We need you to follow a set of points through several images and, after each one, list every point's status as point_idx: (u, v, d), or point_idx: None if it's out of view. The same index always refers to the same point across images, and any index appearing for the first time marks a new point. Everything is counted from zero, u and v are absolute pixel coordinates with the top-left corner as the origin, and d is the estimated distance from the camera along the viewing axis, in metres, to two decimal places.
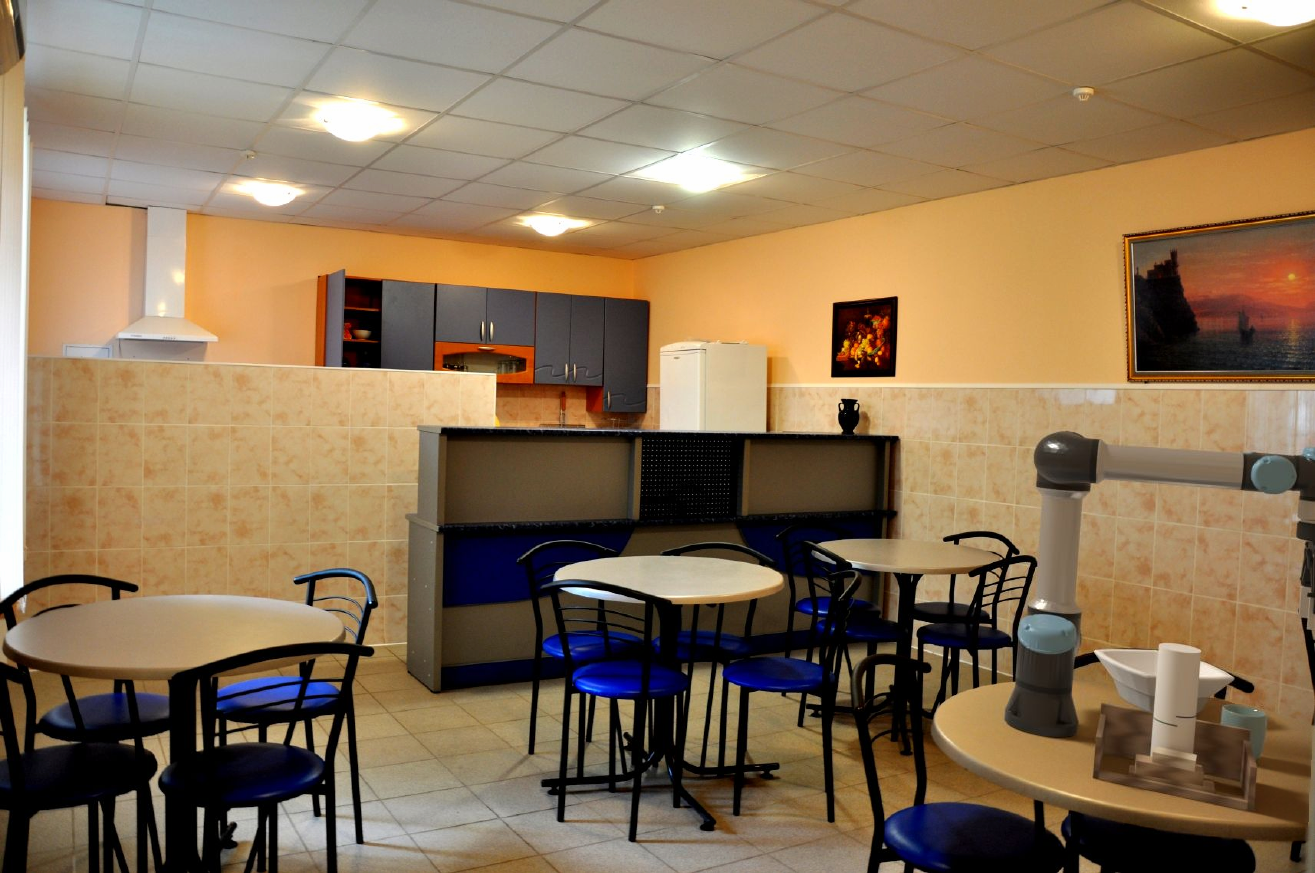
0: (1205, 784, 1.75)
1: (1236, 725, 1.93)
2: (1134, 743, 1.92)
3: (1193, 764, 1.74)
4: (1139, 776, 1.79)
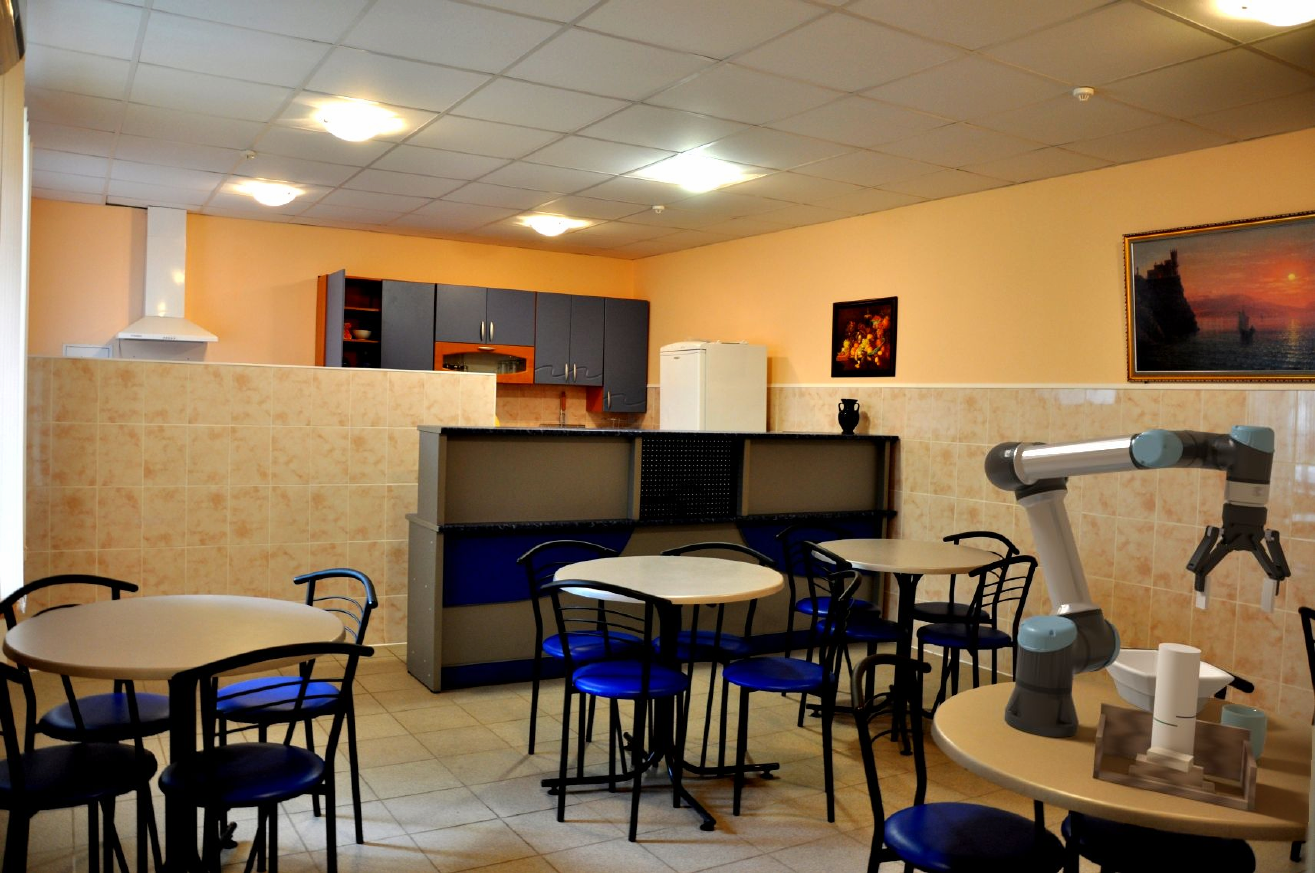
0: (1205, 785, 1.75)
1: (1236, 725, 1.93)
2: (1134, 743, 1.92)
3: (1186, 765, 1.74)
4: (1139, 776, 1.79)
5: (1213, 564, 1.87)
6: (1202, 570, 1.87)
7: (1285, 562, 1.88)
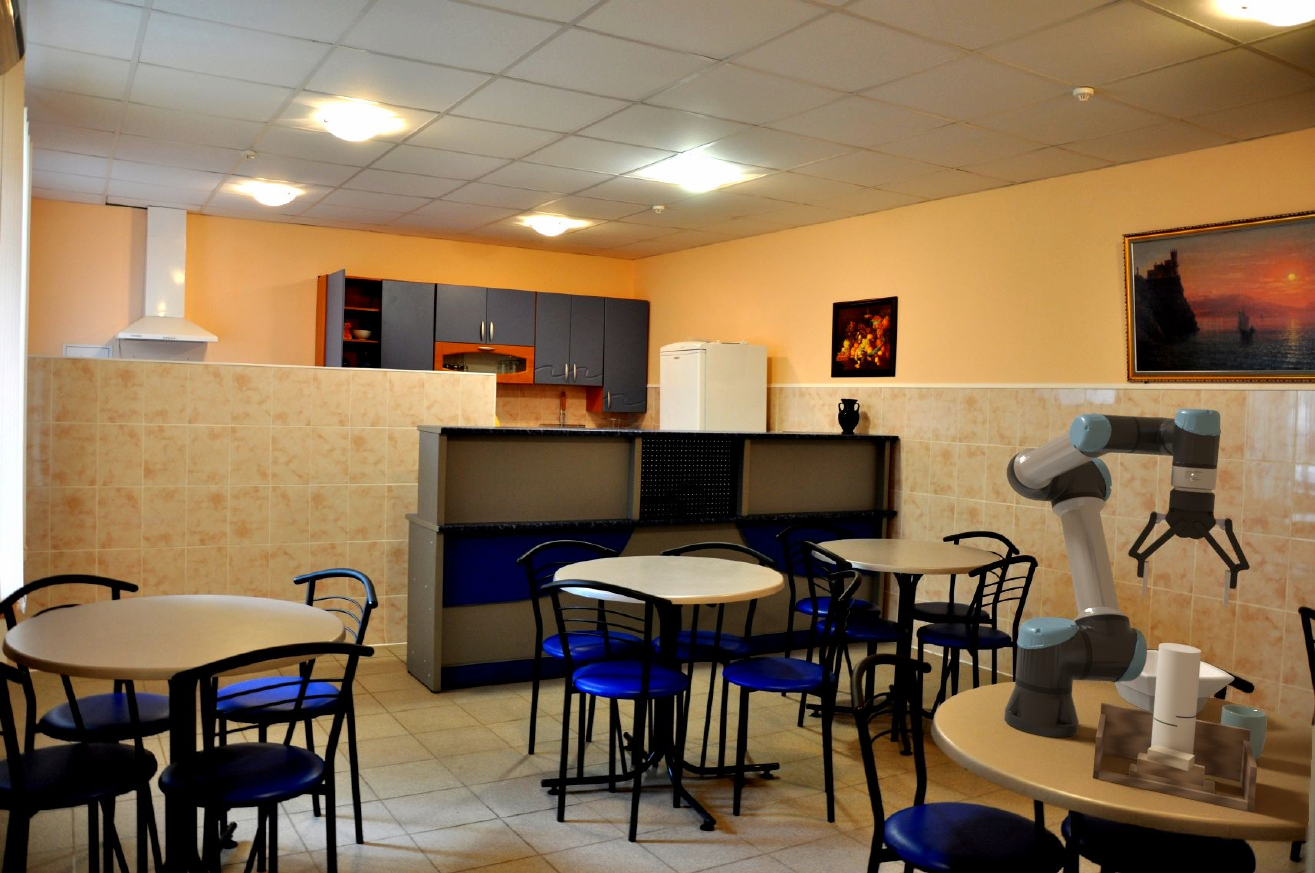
0: (1205, 783, 1.75)
1: (1236, 725, 1.93)
2: (1134, 743, 1.92)
3: (1186, 763, 1.74)
4: (1139, 774, 1.79)
5: (1151, 550, 1.84)
6: (1139, 555, 1.85)
7: (1241, 553, 1.77)
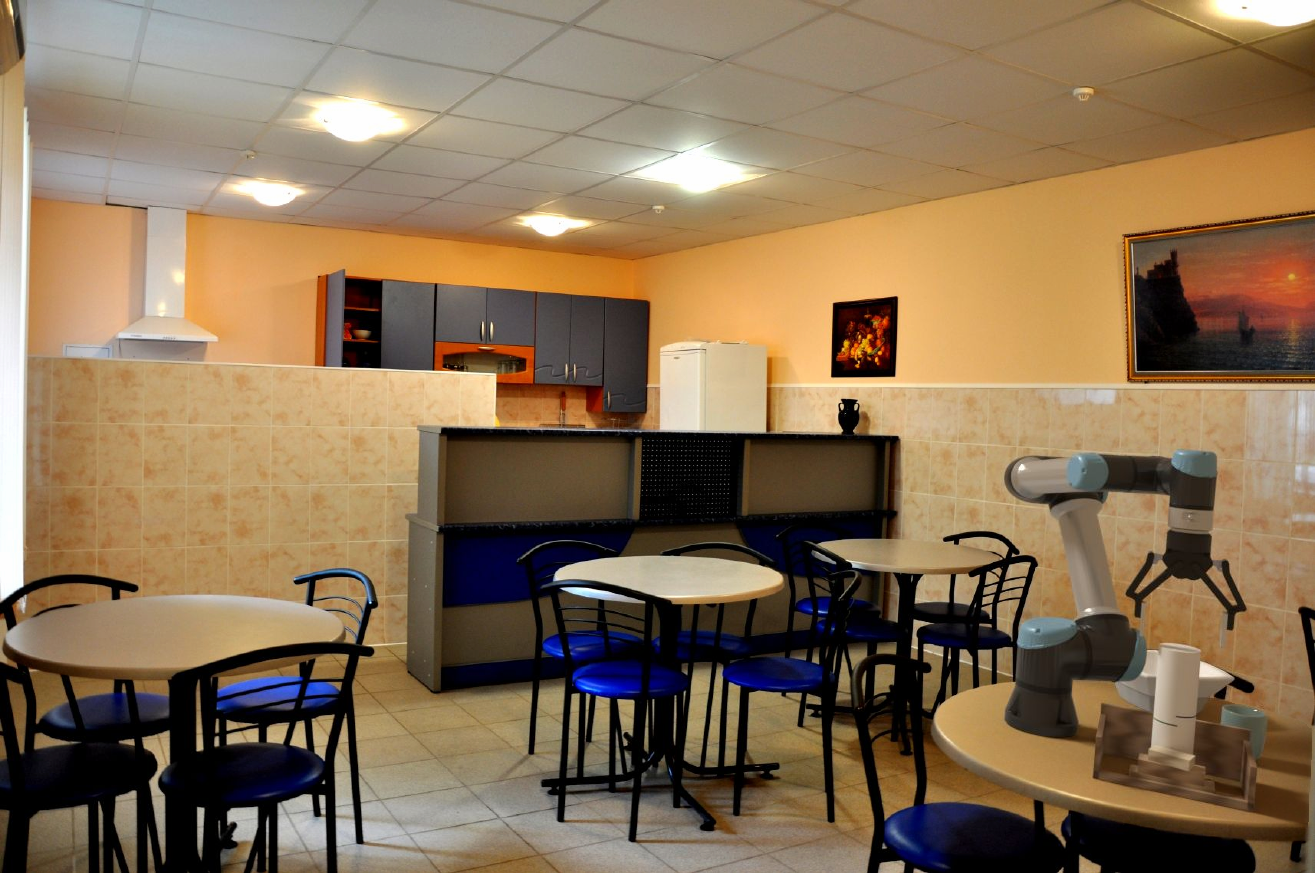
0: (1206, 784, 1.75)
1: (1236, 725, 1.93)
2: (1134, 743, 1.92)
3: (1187, 764, 1.75)
4: (1140, 775, 1.79)
5: (1148, 590, 1.84)
6: (1136, 595, 1.85)
7: (1238, 595, 1.77)
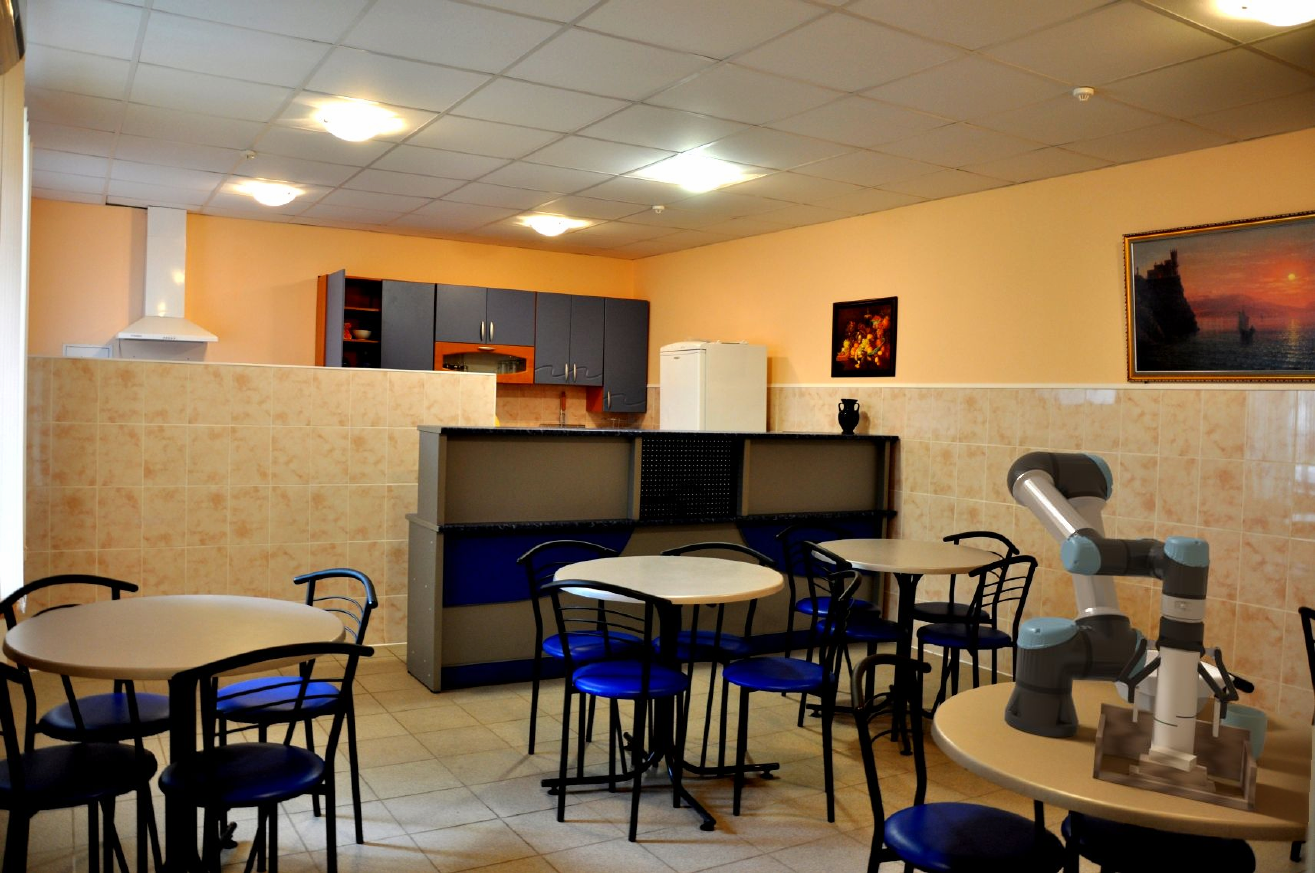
0: (1206, 783, 1.76)
1: (1236, 725, 1.93)
2: (1134, 743, 1.92)
3: (1187, 764, 1.75)
4: (1140, 776, 1.79)
5: (1141, 676, 1.85)
6: (1130, 681, 1.86)
7: (1231, 684, 1.78)
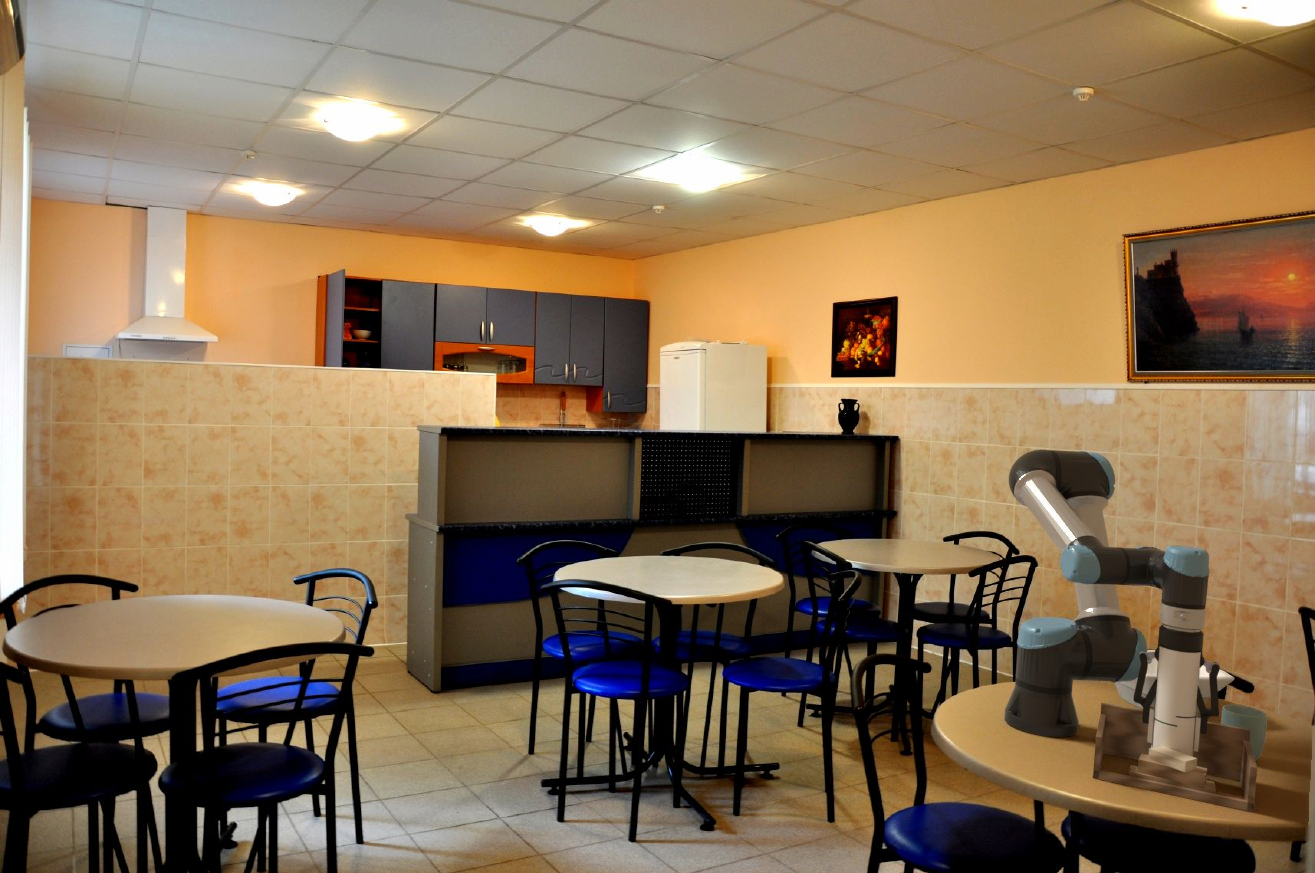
0: (1206, 784, 1.76)
1: (1236, 725, 1.93)
2: (1134, 743, 1.92)
3: (1183, 764, 1.74)
4: (1140, 776, 1.79)
5: (1152, 694, 1.84)
6: (1144, 702, 1.85)
7: (1216, 700, 1.79)
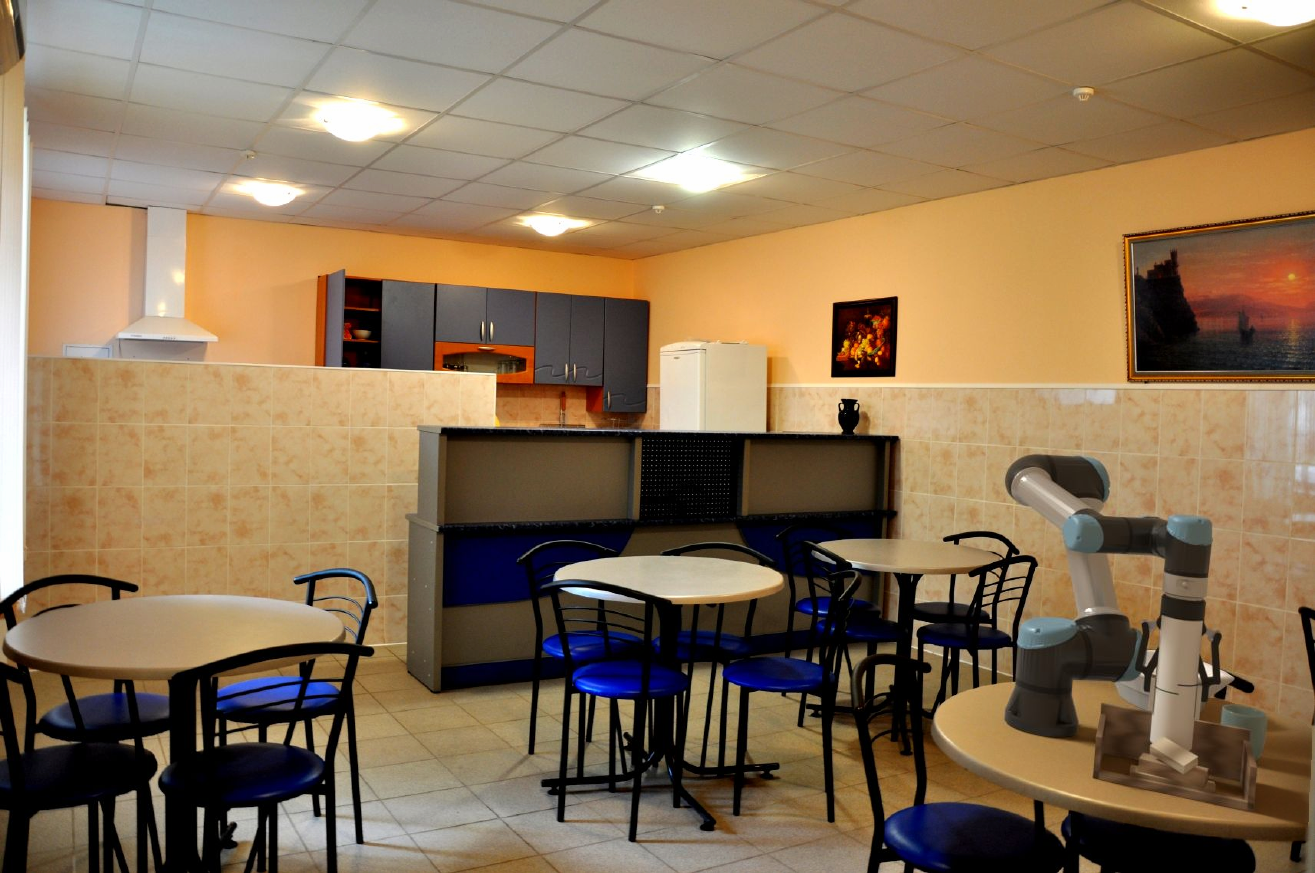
0: (1206, 784, 1.75)
1: (1236, 725, 1.93)
2: (1134, 743, 1.92)
3: (1182, 768, 1.74)
4: (1140, 776, 1.79)
5: (1154, 662, 1.84)
6: (1145, 670, 1.85)
7: (1218, 668, 1.79)
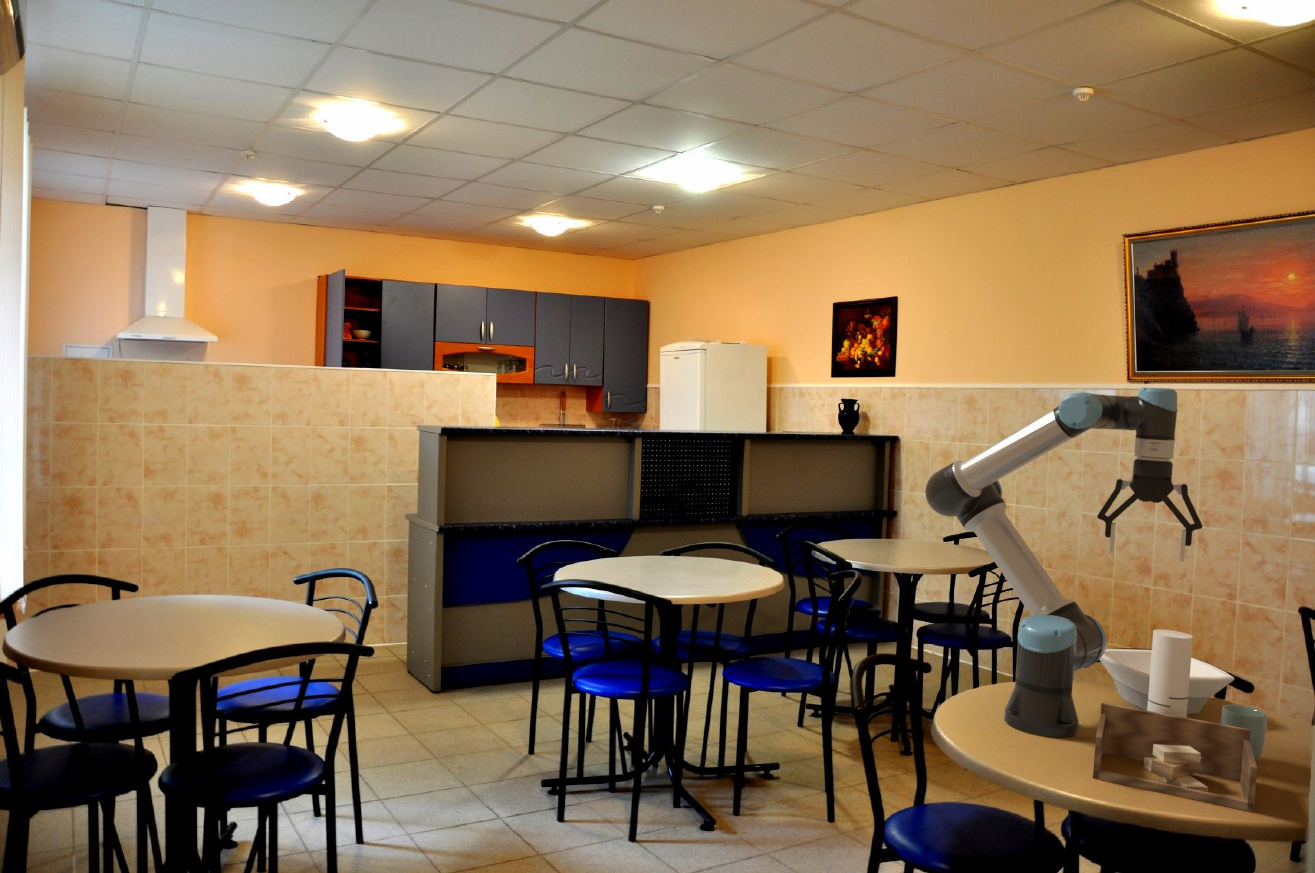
0: (1191, 783, 1.76)
1: (1236, 725, 1.93)
2: (1134, 743, 1.92)
3: None
4: (1149, 763, 1.86)
5: (1117, 512, 2.08)
6: (1107, 517, 2.09)
7: (1195, 514, 2.01)
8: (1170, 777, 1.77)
